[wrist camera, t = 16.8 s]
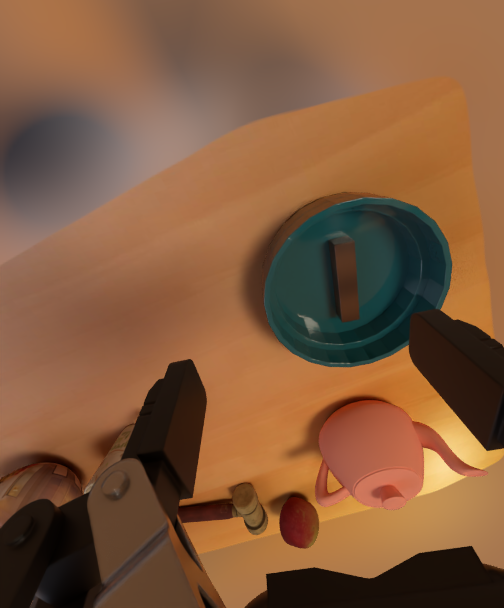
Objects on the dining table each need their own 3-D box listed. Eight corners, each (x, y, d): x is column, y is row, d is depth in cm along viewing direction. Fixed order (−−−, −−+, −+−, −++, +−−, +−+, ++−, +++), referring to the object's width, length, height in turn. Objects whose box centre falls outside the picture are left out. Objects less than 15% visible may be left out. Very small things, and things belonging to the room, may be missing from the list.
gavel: (171, 541, 57) (150, 517, 52) (178, 516, 61) (159, 491, 57) (268, 534, 53) (254, 507, 49) (268, 508, 57) (255, 481, 53)
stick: (328, 239, 31) (334, 245, 29) (347, 235, 31) (354, 240, 29) (336, 313, 35) (341, 323, 33) (353, 310, 35) (359, 319, 33)
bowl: (245, 215, 30) (245, 225, 25) (422, 172, 28) (462, 173, 23) (277, 350, 39) (282, 379, 33) (415, 323, 37) (443, 350, 32)
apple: (269, 498, 56) (272, 547, 49) (301, 483, 54) (309, 532, 47) (290, 513, 59) (295, 561, 52) (322, 500, 56) (332, 548, 49)
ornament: (4, 440, 47) (-93, 549, 34) (93, 446, 48) (33, 555, 35) (25, 490, 54) (-49, 597, 40) (103, 494, 55) (56, 601, 41)
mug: (113, 445, 48) (81, 509, 39) (121, 396, 42) (87, 456, 34) (159, 454, 49) (140, 518, 40) (173, 407, 44) (154, 469, 35)
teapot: (418, 367, 40) (481, 441, 30) (440, 427, 47) (499, 507, 36) (287, 419, 45) (299, 499, 34) (321, 467, 51) (341, 548, 40)
